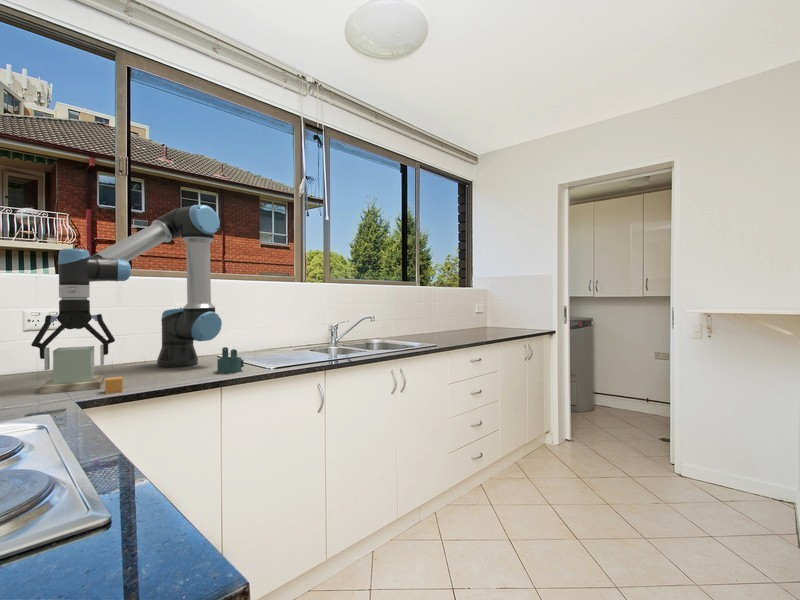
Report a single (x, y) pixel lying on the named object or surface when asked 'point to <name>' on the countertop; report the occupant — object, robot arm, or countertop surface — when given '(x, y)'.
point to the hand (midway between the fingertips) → (75, 367)
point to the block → (113, 385)
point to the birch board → (72, 385)
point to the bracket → (229, 362)
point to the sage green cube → (73, 365)
